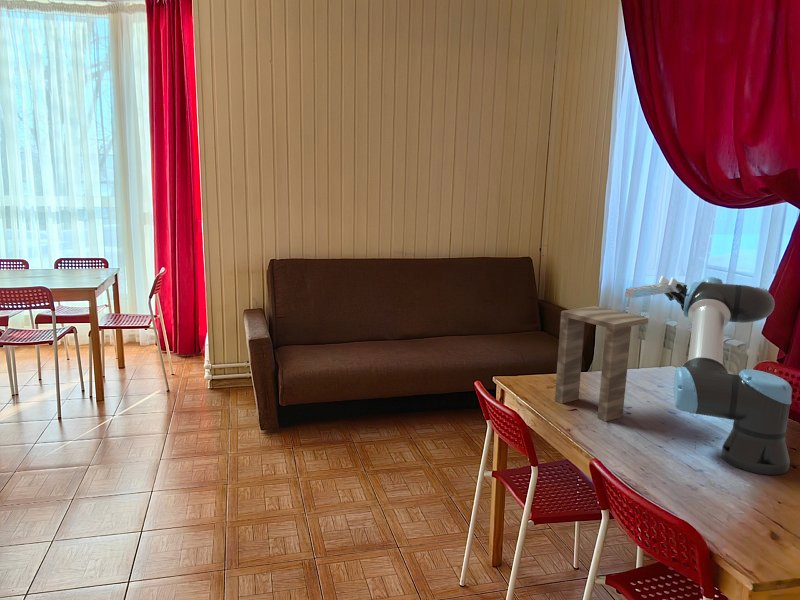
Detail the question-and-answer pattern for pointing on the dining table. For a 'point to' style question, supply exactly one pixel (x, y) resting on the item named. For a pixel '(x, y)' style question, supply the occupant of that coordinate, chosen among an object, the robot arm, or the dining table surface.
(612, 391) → the striped wooden stand
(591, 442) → the dining table surface
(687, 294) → the robot arm
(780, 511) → the dining table surface
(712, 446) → the dining table surface
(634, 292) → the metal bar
